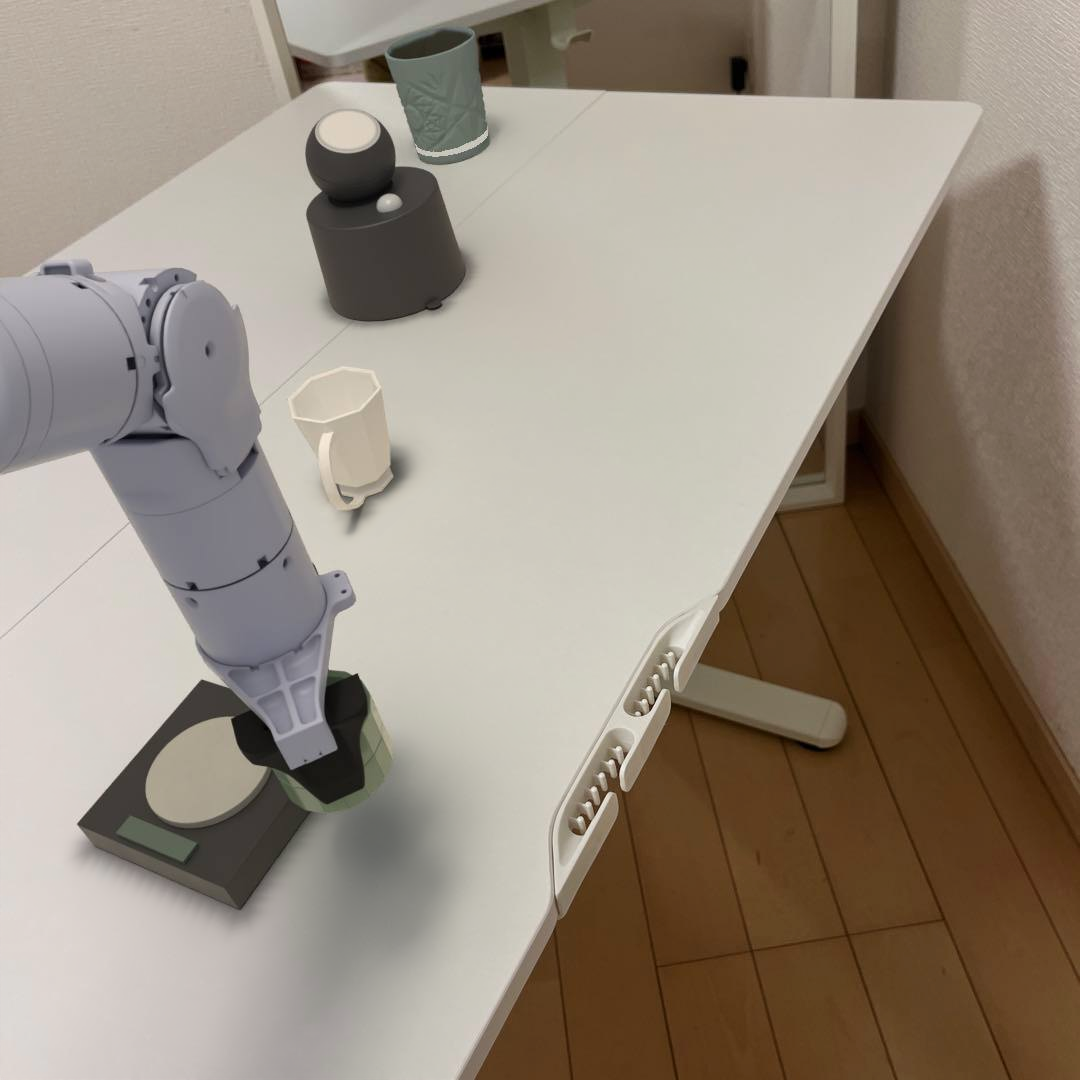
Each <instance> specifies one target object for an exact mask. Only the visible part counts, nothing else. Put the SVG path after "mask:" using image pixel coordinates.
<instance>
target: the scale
mask: <svg viewBox="0 0 1080 1080" xmlns="http://www.w3.org/2000/svg"><path fill="white" fill-rule="evenodd" d="M250 710H251V709H250V708H249V707H248V706H247V705H246V704H245V703H244V702H243V701H242V700H241V699H240V698H239V697H238V696H237V695H236V694H235V693H234V692H233V691H232V690H231V689H230V688H229V687H228V686H224V685H221V684H218V683H215V682H212V681H209V680H205V679H203V678H201V679H200V680H199V681H198V682H197V684H196V685H195V686H194V687H193V688H192V689H191V690H190V692H189V693H188V694H187V695H186V696H185V698H184V699H183V700H182V701H181V702H180V703H179V704H178V706H177V707H176V708H175V709H174V710H173V711H172V712H171V713H170V715H169V716H168V717H167V719H166V720H165V721H164V722H163V723H162V724H161V725H160V727H158V729H157V730H156V731H155V732H154V733H153V735H152V736H151V737H150V738H149V739H148V740H147V741H146V743H145V744H144V745H143V746H142V747H141V749H140V750H139V751H138V752H137V753H136V754H135V755H134V757H132V759H131V760H130V761H129V763H128V764H127V765H126V766H125V767H124V768H123V769H122V771H121V772H120V773H119V774H118V776H116V778H114V780H113V781H112V782H111V783H110V785H109V786H107V788H106V789H105V790H104V792H102V794H101V795H100V796H99V797H98V798H97V800H96V801H95V802H94V803H93V804H92V805H91V806H90V807H89V809H88V810H87V811H86V813H84V815H83V816H82V817H81V818H80V820H78V821H77V823H76V825H77V826H78V828H79V829H80V830H81V832H82V833H83V834H84V835H85V837H86V838H87V839H88V840H89V841H90V843H91V844H92V845H93V846H94V847H96V848H98V849H100V850H103V851H105V852H107V853H110V854H113V855H114V856H117V857H119V858H121V859H124V860H126V861H128V862H130V863H132V864H135V865H138V866H139V867H142V868H144V869H146V870H148V871H150V872H153V873H155V874H158V875H160V876H162V877H165V878H167V879H169V880H171V881H174V882H175V883H178V884H181V885H183V886H185V887H187V888H190V889H191V890H193V891H196V892H199V893H201V894H203V895H206V896H207V897H210V898H212V899H214V900H217V901H219V902H221V903H224V904H226V905H228V906H231V907H233V908H235V909H237V910H241V909H242V907H243V906H244V904H245V903H246V902H247V900H248V899H249V897H250V896H251V895H252V894H253V892H254V891H255V889H256V887H257V886H258V885H259V883H260V882H261V881H262V879H263V878H264V876H266V873H267V872H268V871H269V869H270V868H271V867H272V865H273V864H274V862H275V861H276V860H277V858H278V857H279V855H280V854H281V852H282V851H283V850H284V848H285V847H286V845H287V844H288V842H289V841H290V840H291V838H292V837H293V835H295V833H296V831H297V830H298V828H299V827H300V826H301V824H302V823H303V822H304V820H305V818H306V817H307V816H308V815H309V813H310V811H307V810H304V809H303V808H301V807H299V806H298V805H296V804H295V803H293V802H292V801H291V800H290V798H289V797H288V795H287V793H286V792H285V790H284V788H283V786H282V785H281V783H280V781H279V779H278V778H277V776H276V774H275V772H274V771H273V769H272V768H270V767H265V766H258V765H253V764H252V763H251V762H250V761H249V760H248V759H247V758H246V757H245V756H244V755H243V754H242V752H241V750H240V749H239V747H238V745H237V742H236V738H235V734H234V730H233V726H232V722H231V718H233V717H236V716H238V715H240V714H243V713H245V712H247V711H250Z"/></svg>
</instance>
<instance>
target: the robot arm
mask: <svg viewBox="0 0 1080 1080" xmlns="http://www.w3.org/2000/svg"><path fill="white" fill-rule="evenodd" d="M197 277H198V274H196V273H195V272H193V271H192V270H190V269H186V268H184V267H160V268H148V269H147V268H146V269H145V268H144V269H131V270H115V271H97V272H94V268H93V265H92V263H91V262H90V261H89V260H87V259H85V258H78V259H77V258H76V259H74V258H73V259H56V260H55V259H54V260H46V261H42V263H41V264H40V266H39V271H36V272H33V273H31V274H28V275H25V276H5V277H0V476H3V475H7V474H11V473H14V472H18V471H21V470H26V469H28V468H31V467H36V466H39V465H42V464H47V463H49V462H54V461H57V460H60V459H64V458H67V457H71V456H74V455H78V454H81V453H85V452H89V453H90V455H91V457H92V459H93V461H94V462H95V464H96V466H97V468H98V469H99V471H100V473H101V474H102V476H103V478H104V480H105V482H106V483H107V485H108V486H109V489H110V490H111V492H112V494H113V495H114V497H115V499H116V501H117V502H118V505H119V506H120V507H121V509H122V512H123V513H124V514H125V516H126V518H127V520H128V521H129V523H130V525H131V527H132V529H133V530H134V532H135V534H136V535H137V537H138V539H139V541H140V542H141V544H142V546H143V547H144V549H145V551H146V553H147V554H148V556H149V558H150V560H151V562H152V563H153V565H154V567H155V568H156V570H157V572H158V574H159V576H160V578H161V579H162V581H163V583H164V585H165V586H166V588H167V590H168V591H169V593H170V596H171V598H172V599H173V600H174V602H175V604H176V605H177V608H178V609H179V611H180V613H181V614H182V616H183V618H184V619H185V621H186V623H187V625H188V627H189V628H190V630H191V632H192V634H193V635H194V642H195V647H196V650H197V653H198V654H199V655H200V657H201V660H202V661H203V662H204V664H205V665H206V666H207V668H208V669H209V670H210V671H211V672H212V673H213V674H214V675H215V676H216V677H218V678H219V680H220V681H221V682H222V683H224V685H225V686H226V687H227V688H230V689H231V690H232V691H233V692H234V693H235V694H236V695H237V696H238V697H239V698H240V699H241V700H242V701H243V702H244V703H245V704H246V705H247V706H248V707H249V708H250V709H251V710H250V711H247V712H245V713H243V714H240V715H238V716H236V717H233V718H231V722H232V726H233V730H234V734H235V738H236V742H237V745H238V747H239V749H240V750H241V752H242V754H243V755H244V756H245V757H246V758H247V759H248V760H249V761H250V762H251V763H252V764H253V765H258V766H265V767H270V768H273V769H276V770H279V771H281V772H284V773H285V774H287V775H289V776H290V777H292V778H293V779H294V780H296V781H297V782H298V783H299V784H300V785H302V786H303V787H304V788H305V789H306V790H307V791H308V792H310V793H311V794H312V795H313V796H314V797H316V798H317V799H318V800H319V801H321V802H322V803H324V804H327V805H328V804H330V803H332V802H334V801H337V800H339V799H341V798H343V797H346V796H348V795H350V794H352V793H354V792H357V791H359V790H361V789H363V788H364V786H365V772H364V765H363V759H362V754H361V748H360V734H361V729H362V726H363V723H364V721H365V719H366V717H367V715H368V702H367V695H366V693H365V690H364V688H363V685H362V683H361V680H362V679H361V678H360V675H359V672H357V673H354V674H351V675H352V676H350V677H347V678H345V679H343V680H340V681H338V682H336V683H333V684H331V685H329V686H326V681H327V674H328V670H330V669H329V667H330V666H329V665H330V658H331V657H330V656H331V649H332V642H333V635H334V627H335V620H336V617H337V616H338V614H339V613H341V612H343V611H346V610H348V609H350V608H351V607H353V606H354V605H355V603H356V602H357V596H356V593H355V591H354V589H353V586H352V584H351V582H350V579H349V577H348V575H347V573H346V571H344V570H340V569H336V570H332V571H329V572H327V573H323V574H319V572H318V570H317V568H316V564H314V562H313V561H312V560H311V556H310V555H309V553H308V550H307V548H306V546H305V544H304V541H303V538H302V537H301V534H300V532H299V528H298V527H297V525H296V522H295V520H294V517H293V515H292V513H291V511H290V508H289V507H288V504H287V502H286V500H285V497H284V495H283V493H282V490H281V488H280V486H279V484H278V482H277V479H276V477H275V475H274V472H273V470H272V468H271V465H270V463H269V461H268V459H267V456H266V454H265V452H264V450H263V448H262V446H261V443H260V441H259V438H258V436H259V435H260V434H261V432H262V428H263V425H262V421H261V418H260V415H261V413H262V409H261V408H260V405H259V403H258V400H257V397H256V396H255V393H254V390H253V387H252V384H251V377H250V353H249V351H250V350H249V342H248V335H247V330H246V326H245V322H244V318H243V315H242V312H241V309H240V306H239V304H238V303H234V304H232V305H231V303H230V302H229V300H228V299H227V298H226V296H225V295H224V294H223V293H222V291H220V290H219V289H218V288H217V287H216V286H214V285H213V284H211V283H208V282H205V281H204V280H203V279H201V280H197ZM360 679H361V680H360Z"/></svg>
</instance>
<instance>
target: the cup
mask: <svg viewBox="0 0 1080 1080" xmlns="http://www.w3.org/2000/svg"><path fill="white" fill-rule="evenodd" d="M286 400H287V403H288V404H287V405H288V407H289V410H290V414H291V417H292V419H293V421H294V423H295V424H296V426H297V428H298V429H299V431H300V432H301V434H302V436H303V437H304V439H305V441H306V442H307V443H308V445H309V447H310V449H311V450H312V452H313V453H314V455H315V457H316V459H317V460H318V464H319V473H320V476H321V477H320V478H321V480H322V484H323V488H324V490H325V493H326V496H327V499H328V502H330V504H331V506H332V507H333V509H335V510H337V511H339V512H340V511H349V510H355V509H358V508H360V507H361V506H363V504H364V503H365V500H366V498H367V497H370V496H372V495H375V494H378V493H381V492H383V491H384V490H385V488H386V487H387V486H388V485H389V484H390V482H391V481H392V480H393V479H394V474H393V472H392V469H391V467H390V466H392V465H391V440H390V436H389V435H390V434H389V428H388V423H387V417H386V410H385V404H384V397H383V391H382V387H381V384H380V382H379V380H378V377H377V374H376V372H375V370H374V369H368V368H360V367H353V366H345V365H343V366H339V367H336V368H335V369H331V370H328V371H325V372H322V373H319V374H316V375H312V376H310V377H308V378H307V379H306V380H305V381H304V382H303V383H302V384H301V385H299V387H298V388H297V389H295V391H294V392H293V393H292V394H290V396H289V397H288V398H287V399H286ZM337 485H338V486H337ZM338 488H339V489H338ZM339 491H340V493H341V495H340V493H339ZM341 496H344V497H349V498H352V501H351V502H350V503H345V502H344V500H343V499H342V497H341Z"/></svg>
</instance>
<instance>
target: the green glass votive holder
mask: <svg viewBox="0 0 1080 1080" xmlns="http://www.w3.org/2000/svg"><path fill="white" fill-rule="evenodd" d="M352 675H353V674H351V673H349V672H347V671H346V670H345V671H344V670H335V669H334V670H333V669H329V670H328V674H327V681H326V686H329V685H331V684H333V683H336V682H338V681H340V680H343V679H345V678H347V677H350V676H352ZM360 680H361V683H362V685H363V688H364V690H365V693H366V695H367V702H368V715H367V717H366V719H365V721H364V723H363V726H362V729H361V734H360V748H361V754H362V759H363V765H364V772H365V786H364V788H363V789H361V790H359V791H357V792H354V793H352V794H350V795H348V796H346V797H343V798H341V799H339V800H337V801H334V802H332V803H330V804H328V805H327V804H324V803H322V802H321V801H319V800H318V799H317V798H316V797H314V796H313V795H312V794H311V793H310V792H308V791H307V790H306V789H305V788H304V787H303V786H302V785H300V784H299V783H298V782H297V781H296V780H294V779H293V778H292V777H290V776H289V775H287V774H285V773H284V772H281V771H279V770H276V769H273V768H272V769H273V771H274V772H275V774H276V776H277V778H278V779H279V781H280V783H281V785H282V786H283V788H284V790H285V792H286V793H287V795H288V797H289V798H290V800H291V801H292V802H293V803H295V804H296V805H298V806H299V807H301V808H303V809H304V810H307V811H309V812H314V813H323V814H329V813H336V812H342V811H346V810H349V809H352V808H353V807H355V806H357V805H360V804H362V803H363V802H364V801H366V800H367V799H368V798H370V797H371V796H372V795H373V794H374V793H375V792H376V791H377V790H378V789H379V787H380V786H381V785H382V784H383V783H384V782H385V781H386V779H387V776H388V773H389V771H390V768H391V766H392V764H393V762H394V761H393V760H394V755H393V743H392V740H391V738H390V735H389V733H388V731H387V729H386V726H385V724H384V721H383V720H382V717H381V714H380V712H379V710H378V708H377V706H376V704H375V701H374V699H373V697H372V694H371V692H370V691H369V690H368V688H367V686H366V685H365V683H364V681H363V680H362V679H361V678H360Z"/></svg>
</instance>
